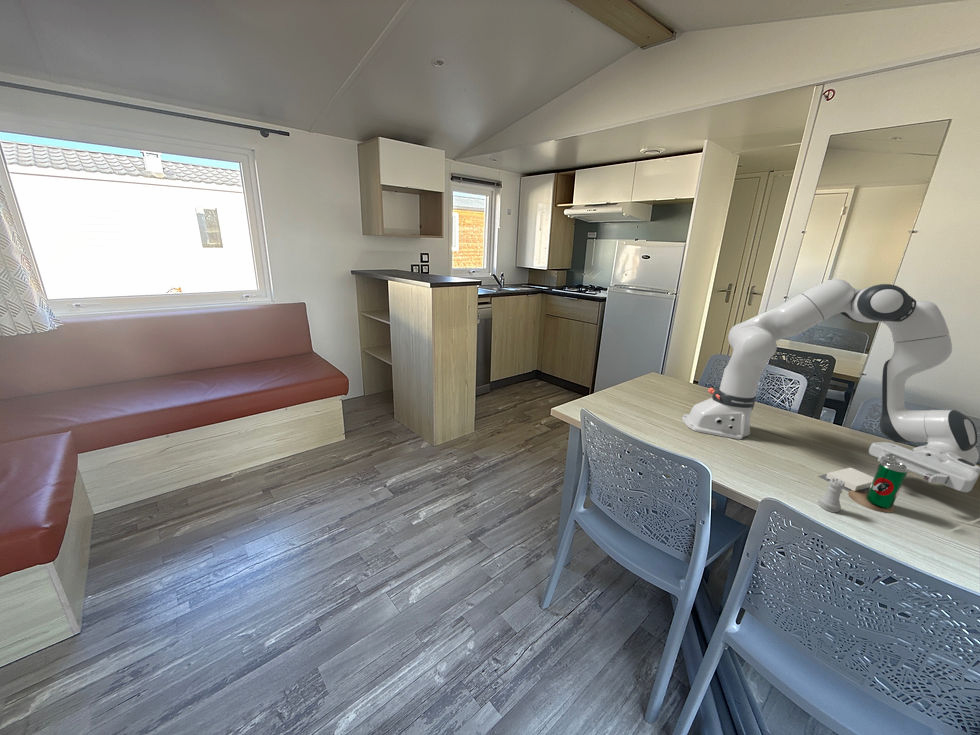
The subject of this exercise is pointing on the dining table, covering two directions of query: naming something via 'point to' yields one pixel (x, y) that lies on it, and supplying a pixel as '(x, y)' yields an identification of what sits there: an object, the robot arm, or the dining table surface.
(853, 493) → the coaster
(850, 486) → the glazed tile
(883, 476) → the soda can
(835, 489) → the rook chess piece
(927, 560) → the dining table surface
